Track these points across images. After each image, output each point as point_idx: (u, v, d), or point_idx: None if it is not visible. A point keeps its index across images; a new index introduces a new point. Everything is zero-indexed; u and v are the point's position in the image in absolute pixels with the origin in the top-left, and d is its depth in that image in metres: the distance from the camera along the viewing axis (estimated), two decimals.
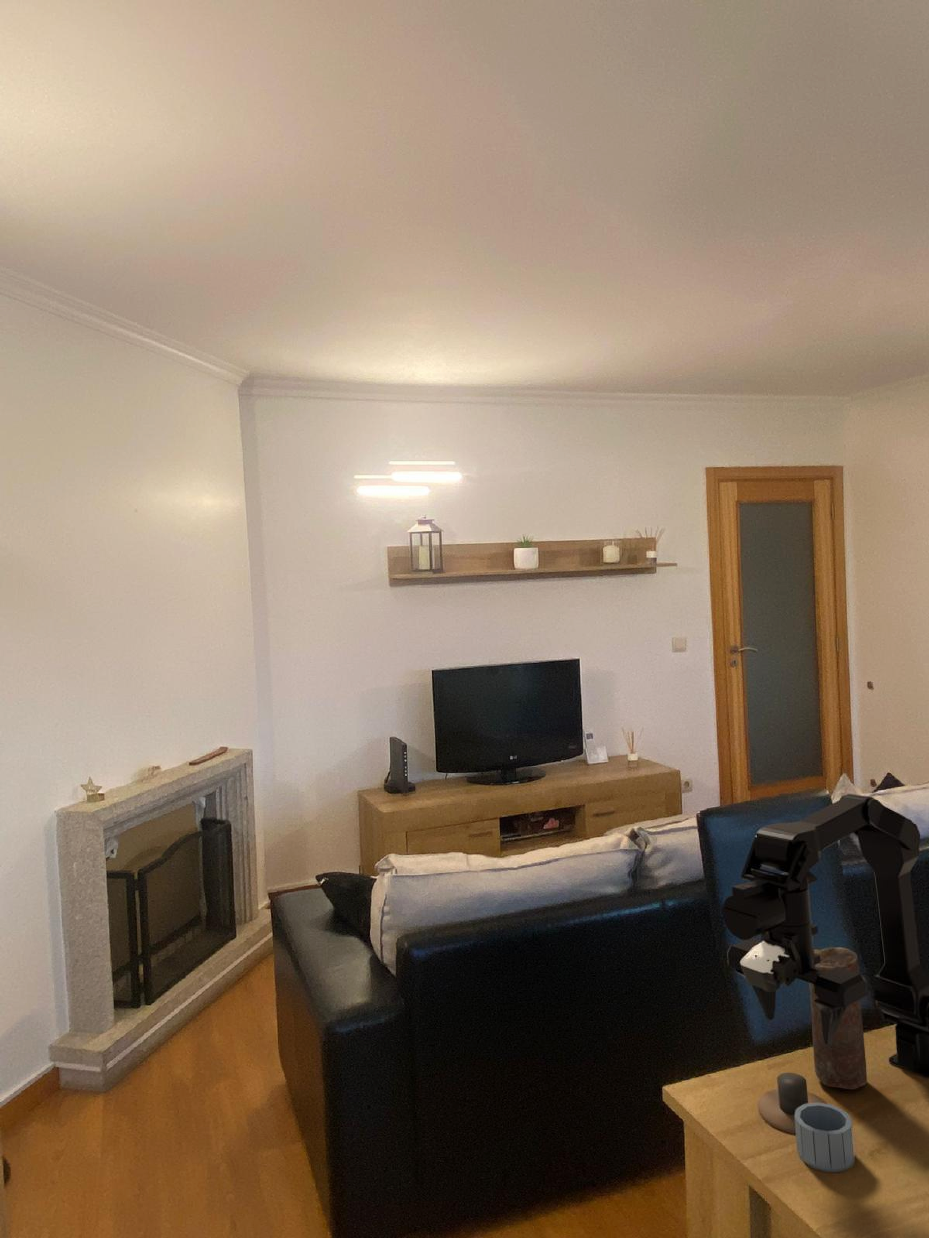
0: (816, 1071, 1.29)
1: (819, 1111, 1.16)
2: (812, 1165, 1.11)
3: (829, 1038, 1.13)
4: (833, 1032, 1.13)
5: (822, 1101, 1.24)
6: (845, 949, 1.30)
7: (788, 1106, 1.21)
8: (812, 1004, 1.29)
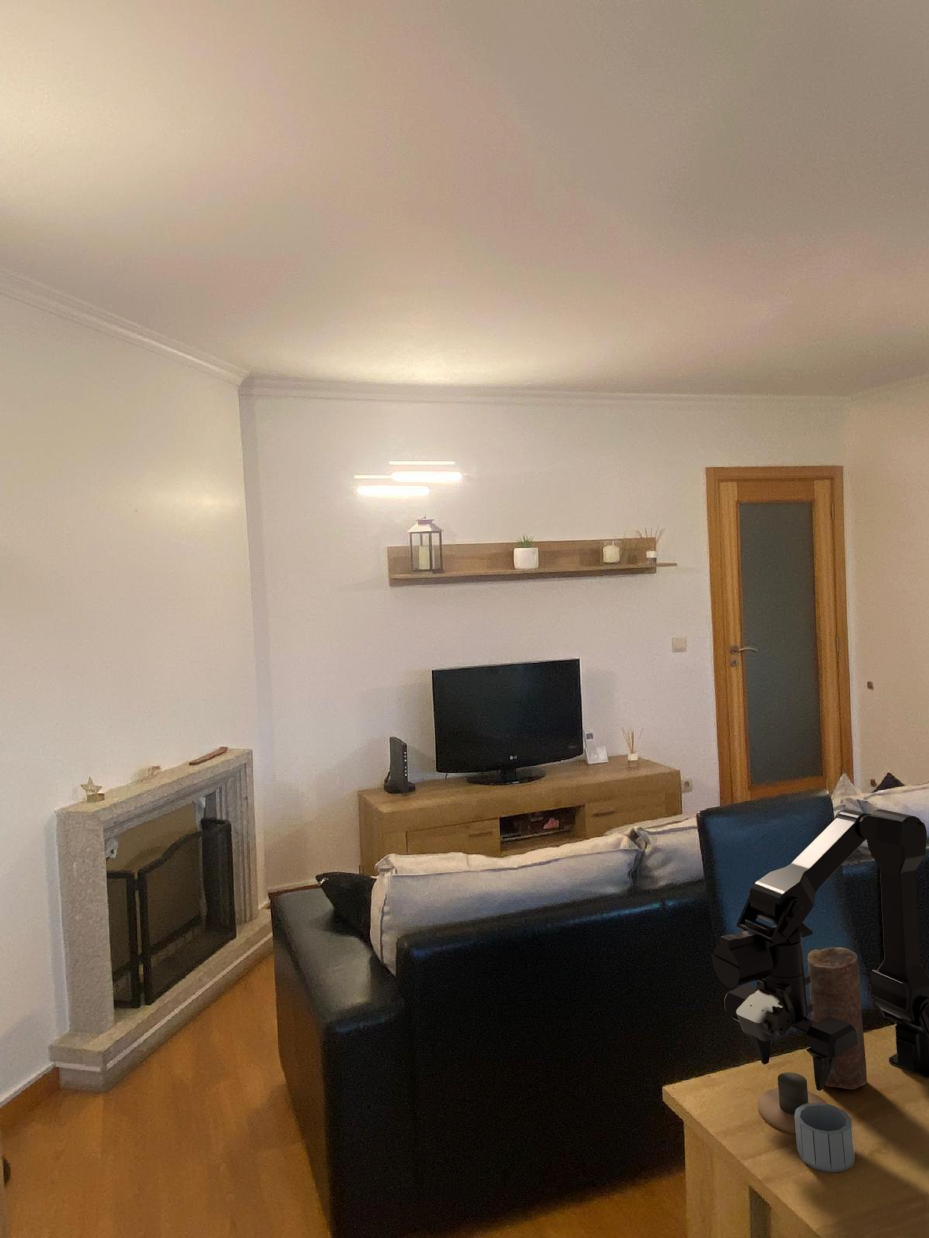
0: None
1: (819, 1111, 1.16)
2: (812, 1165, 1.11)
3: (821, 1084, 1.19)
4: (825, 1079, 1.19)
5: (822, 1101, 1.24)
6: (845, 949, 1.30)
7: (788, 1106, 1.21)
8: None
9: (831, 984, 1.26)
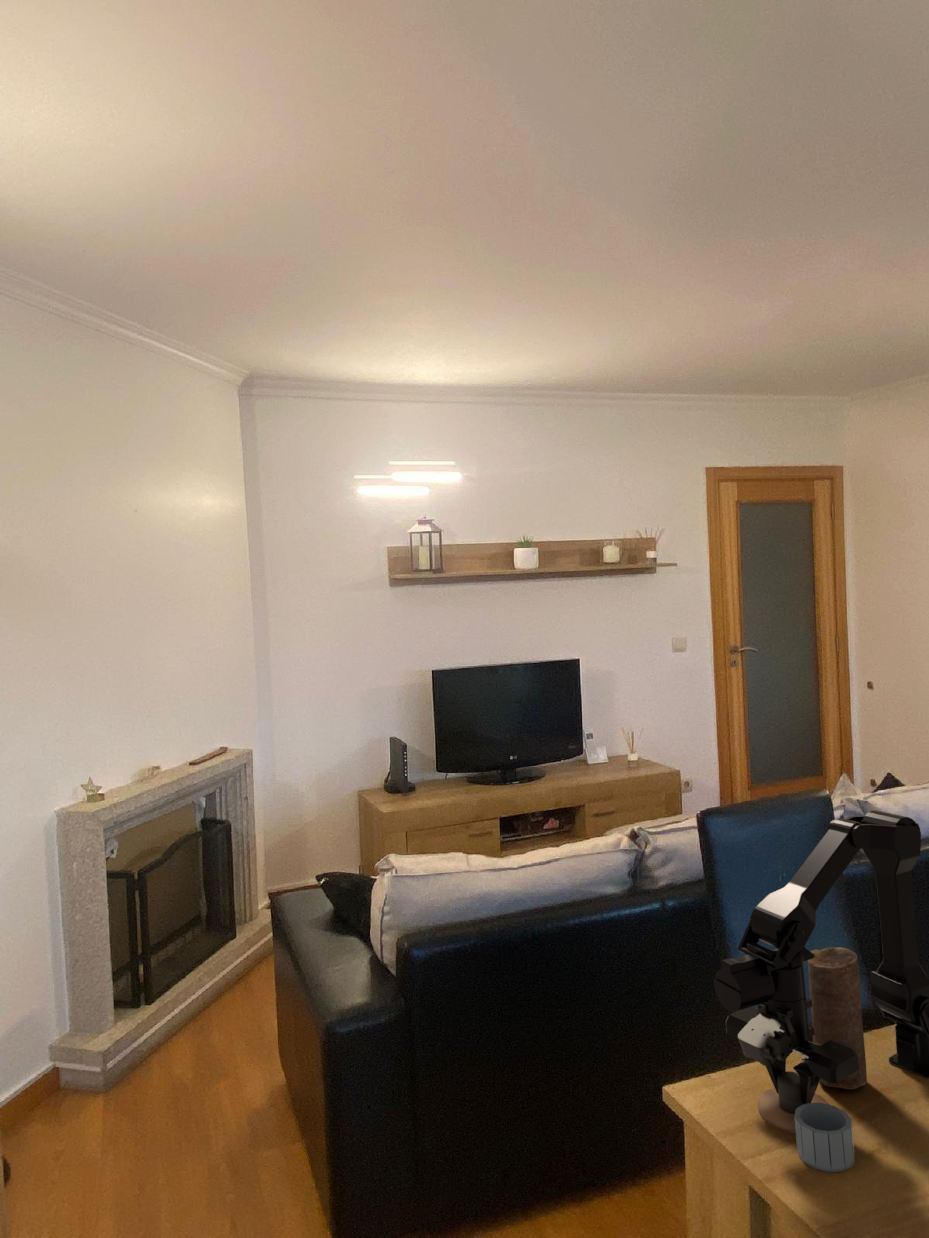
0: None
1: (819, 1111, 1.16)
2: (812, 1165, 1.11)
3: (808, 1101, 1.21)
4: (811, 1096, 1.21)
5: (821, 1099, 1.24)
6: (845, 949, 1.30)
7: (789, 1105, 1.21)
8: (812, 1004, 1.29)
9: (831, 984, 1.26)
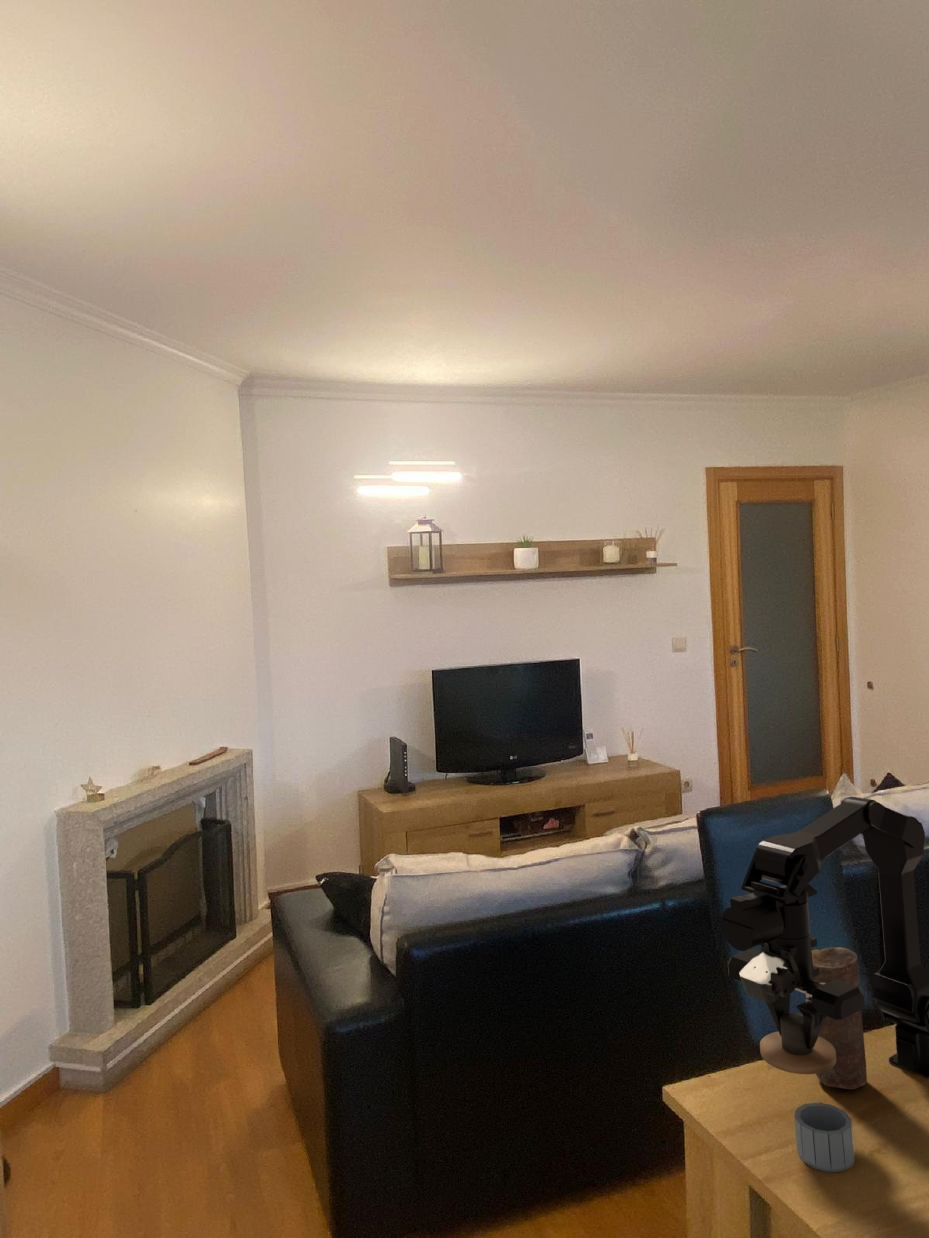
0: None
1: (819, 1111, 1.16)
2: (812, 1165, 1.11)
3: (812, 1042, 1.17)
4: (815, 1037, 1.17)
5: (826, 1041, 1.20)
6: (845, 949, 1.30)
7: (792, 1046, 1.18)
8: None
9: None
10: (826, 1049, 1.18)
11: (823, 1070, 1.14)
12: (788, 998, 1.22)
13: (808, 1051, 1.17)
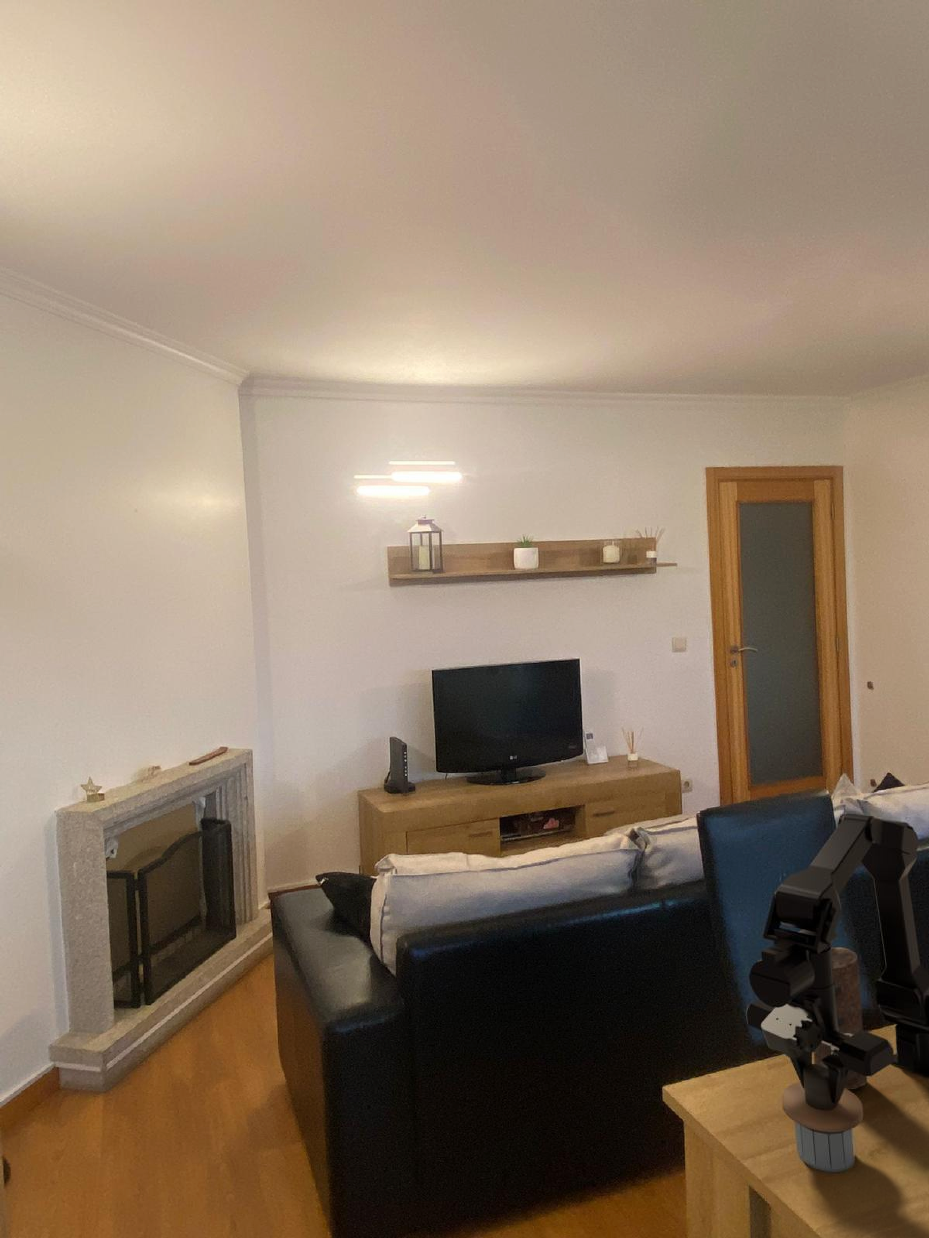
0: None
1: None
2: (812, 1165, 1.11)
3: (837, 1097, 1.11)
4: (841, 1091, 1.11)
5: (850, 1094, 1.14)
6: (845, 949, 1.30)
7: (816, 1100, 1.11)
8: None
9: None
10: (852, 1102, 1.12)
11: (850, 1127, 1.08)
12: None
13: (834, 1105, 1.11)
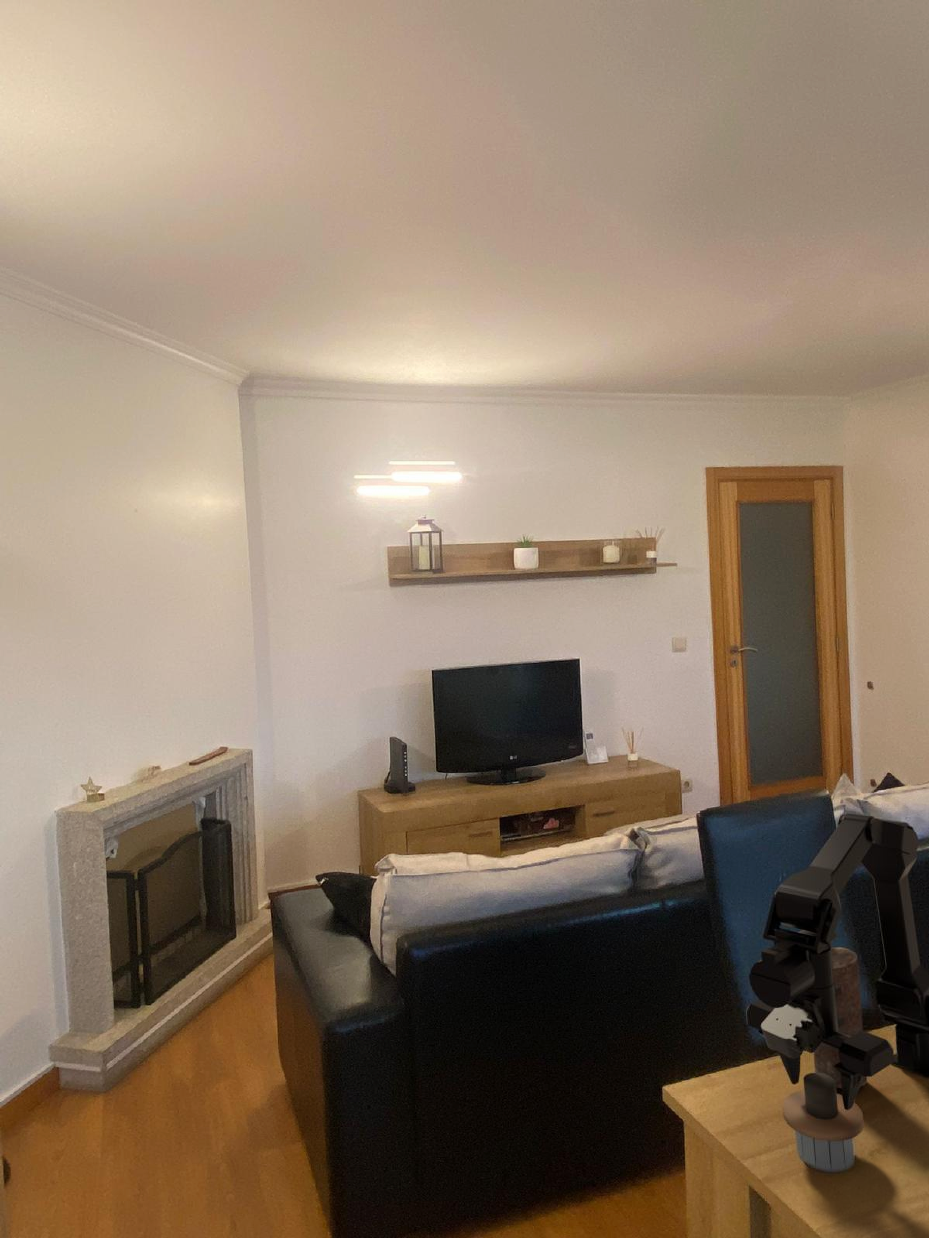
0: (816, 1071, 1.29)
1: None
2: (812, 1165, 1.11)
3: (850, 1103, 1.09)
4: (853, 1097, 1.09)
5: None
6: (845, 949, 1.30)
7: (817, 1109, 1.11)
8: None
9: None
10: (853, 1111, 1.12)
11: (851, 1136, 1.08)
12: None
13: (834, 1114, 1.11)
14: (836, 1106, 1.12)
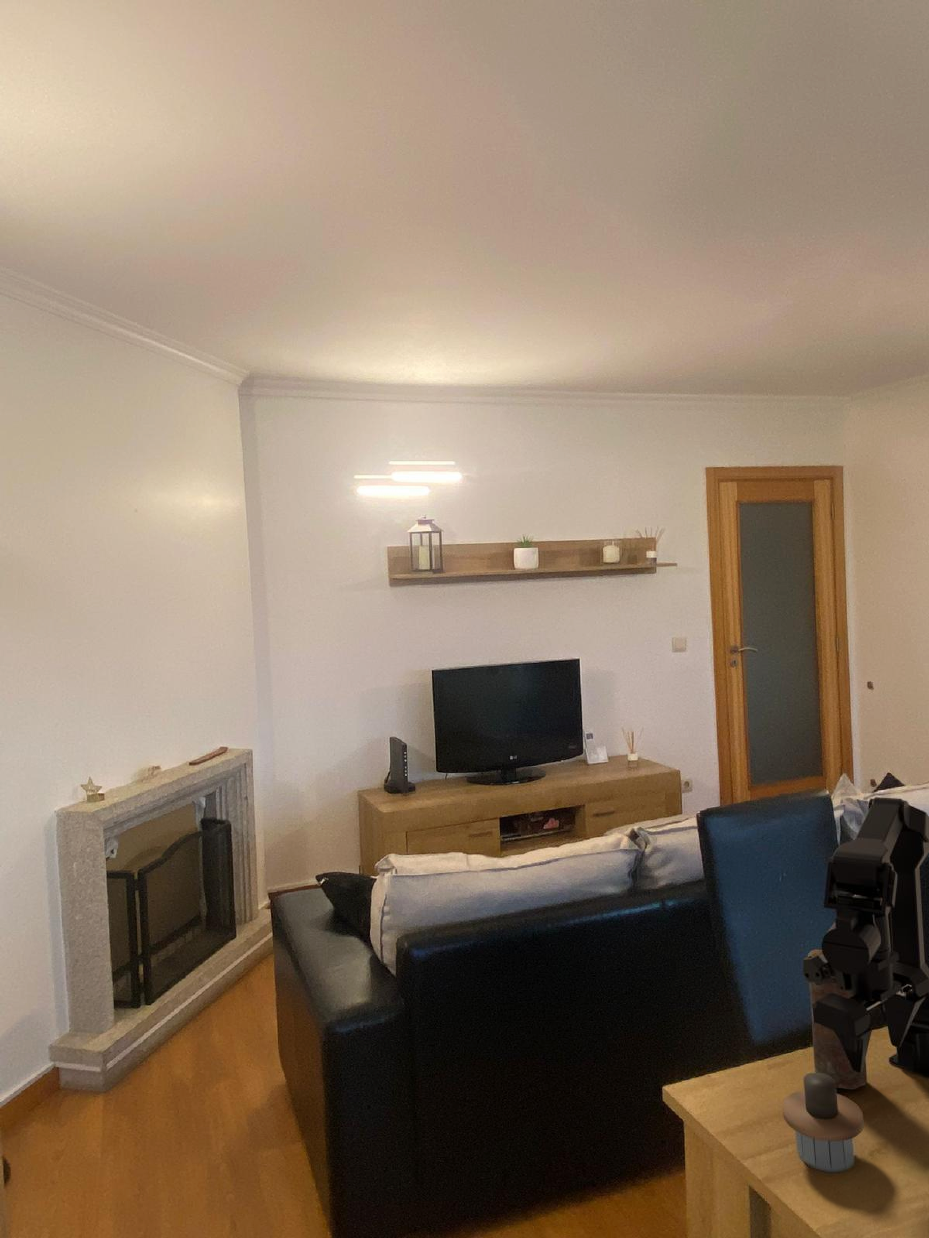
0: (816, 1071, 1.29)
1: None
2: (812, 1165, 1.11)
3: (853, 1064, 1.12)
4: (856, 1062, 1.11)
5: (851, 1102, 1.14)
6: None
7: (817, 1109, 1.11)
8: None
9: (831, 984, 1.26)
10: (853, 1111, 1.12)
11: (851, 1136, 1.08)
12: (907, 1016, 1.15)
13: (834, 1114, 1.11)
14: (836, 1106, 1.12)
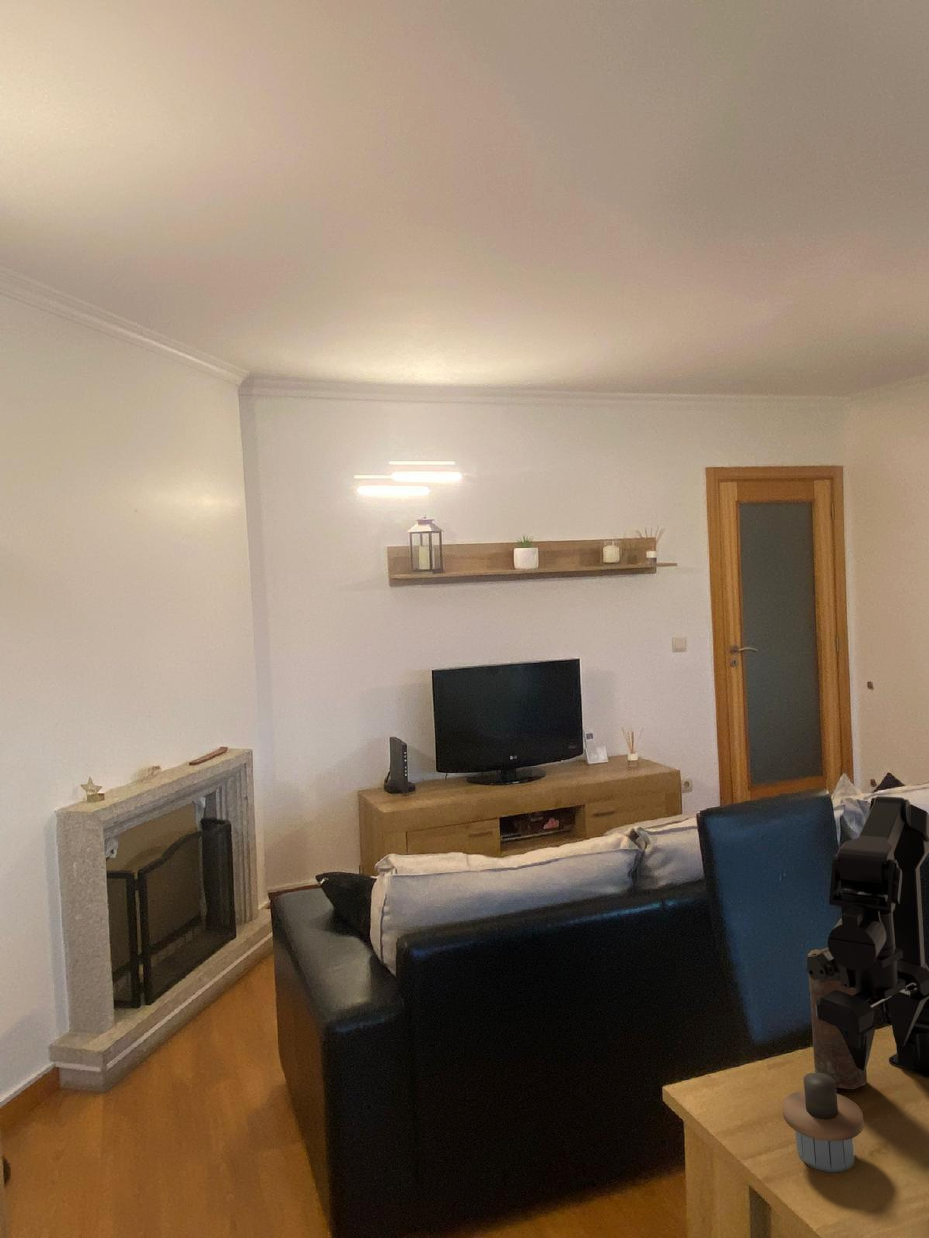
0: (816, 1071, 1.29)
1: None
2: (812, 1165, 1.11)
3: (857, 1062, 1.11)
4: (860, 1059, 1.11)
5: (851, 1102, 1.14)
6: None
7: (817, 1109, 1.11)
8: (812, 1004, 1.29)
9: (831, 984, 1.26)
10: (853, 1111, 1.12)
11: (851, 1136, 1.08)
12: (911, 1014, 1.15)
13: (834, 1114, 1.11)
14: (836, 1106, 1.12)
